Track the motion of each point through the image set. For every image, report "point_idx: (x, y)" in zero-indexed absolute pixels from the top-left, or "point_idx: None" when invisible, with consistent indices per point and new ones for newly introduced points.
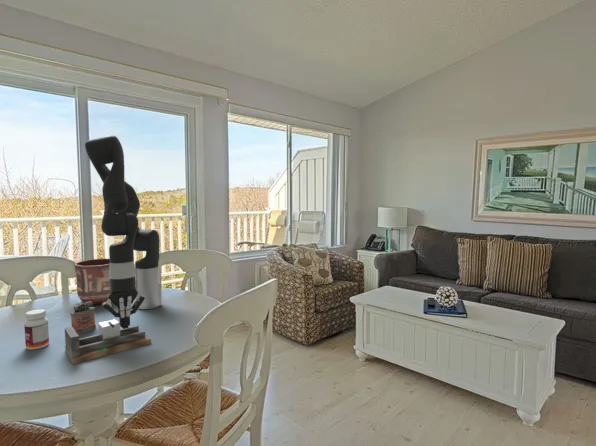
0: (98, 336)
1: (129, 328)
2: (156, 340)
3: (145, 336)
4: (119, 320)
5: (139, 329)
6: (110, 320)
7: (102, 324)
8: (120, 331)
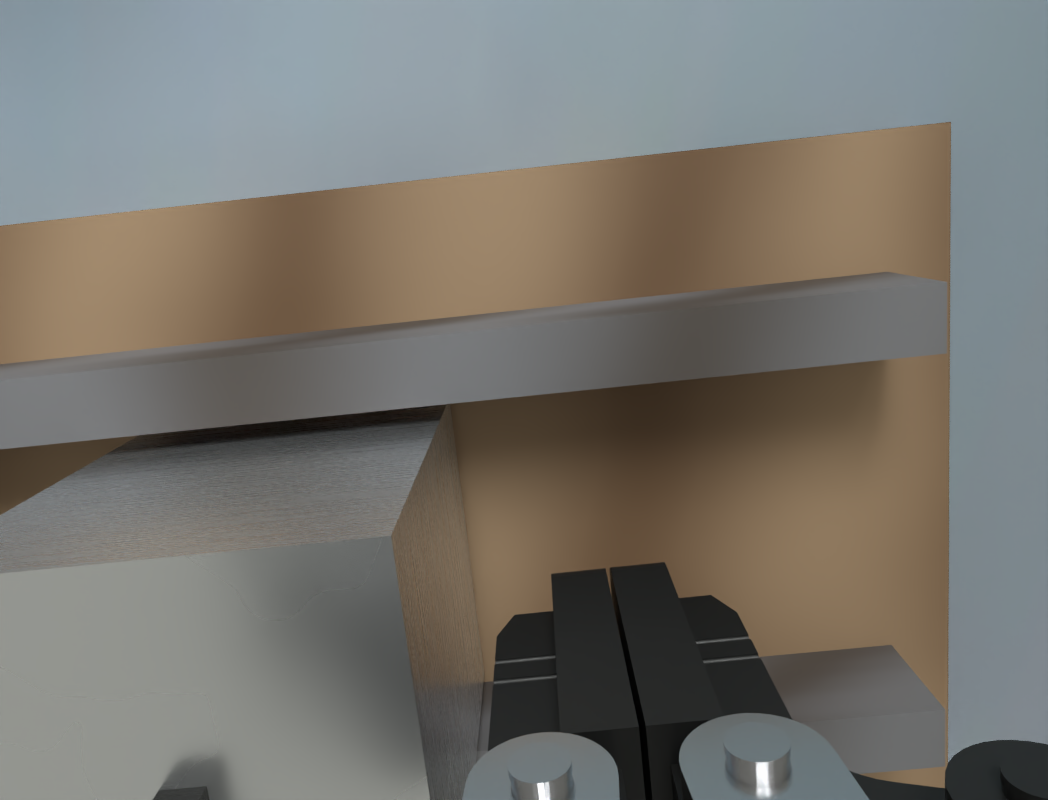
0: (98, 431)
1: (736, 373)
2: (1019, 685)
3: (909, 649)
4: (492, 709)
5: (944, 199)
6: (239, 576)
7: (3, 797)
8: (538, 386)
